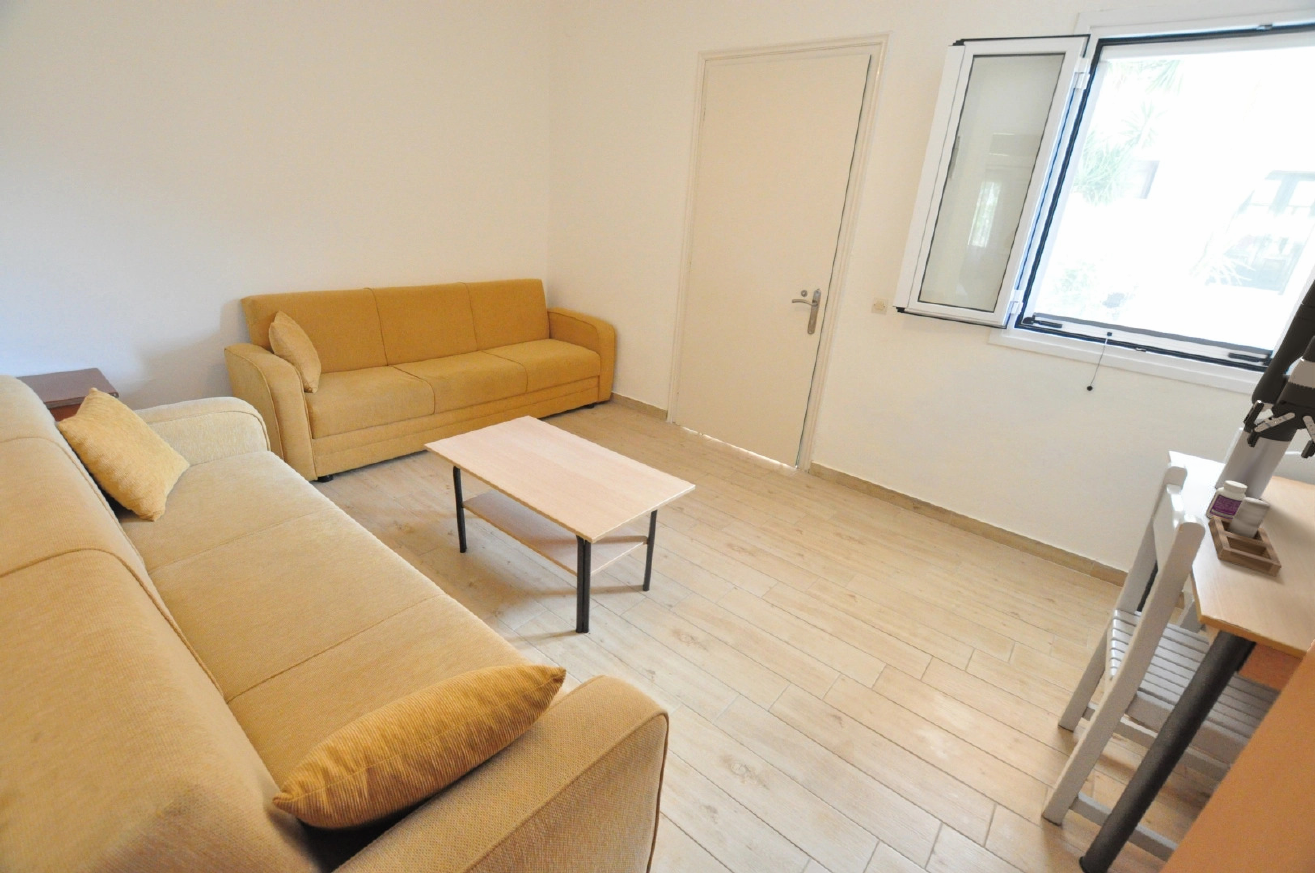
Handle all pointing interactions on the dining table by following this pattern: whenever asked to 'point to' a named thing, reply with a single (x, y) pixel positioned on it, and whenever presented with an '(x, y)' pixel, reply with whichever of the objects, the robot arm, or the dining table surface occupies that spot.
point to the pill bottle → (1227, 500)
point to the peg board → (1245, 538)
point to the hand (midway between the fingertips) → (1276, 451)
